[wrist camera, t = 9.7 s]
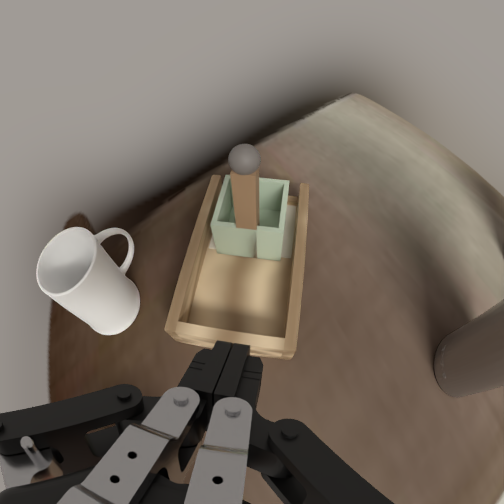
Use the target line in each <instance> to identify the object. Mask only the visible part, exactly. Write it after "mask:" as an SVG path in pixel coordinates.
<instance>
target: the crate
mask: <svg viewBox="0 0 504 504" xmlns="http://www.w3.org/2000/svg"><path fill="white" fill-rule="evenodd" d="M228 162H229V166H230V168H231V173H230V175H226V176H225V179H224V182H223V185H222V188H221V192H220V195H219V198H218V201H217V205H216V208H215V211H214V214H213V218H212V221H211V225H210V226H211V230H212V234H213V238H214V242H215V247H216V251H217V253H219V254H227V255H235V256H242V257H250V258H258V259H266V260H275V261H280V260H281V252H282V244H283V235H284V227H285V218H286V209H287V200H288V190H289V181H287V180H278V179H268V178H259V166H260V162H261V157H260V154H259V152H258V150H257V149H256V148H255V147H254V146H252V145H249V144H240V145H237V146H236V147H234V148H233V149H232V150H231V152H230V154H229V158H228Z"/></svg>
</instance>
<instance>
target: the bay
mask: <svg viewBox="0 0 504 504" xmlns="http://www.w3.org/2000/svg"><path fill="white" fill-rule="evenodd" d="M221 188H222V180H221V175H212V178H211V180H210V183H209V186H208V189H207V192H206V195H205V197H204V200H203V203H202V206H201V209H200V212H199V215H198V218H197V221H196V224H195V227H194V230H193V233H192V236H191V240H190V243H189V246H188V249H187V252H186V256H185V259H184V262H183V265H182V269H181V272H180V275H179V279H178V282H177V286H176V289H175V293H174V296H173V300H172V303H171V307H170V310H169V314H168V318H167V322H166V325H165V329H164V330H165V331H166V332H167V333H168V334H169V335H170V336H171V337H172V338H174V339H175V340H176V341H178V342H183V343H187V344H192V345H197V346H202V347H208V348H213V347H214V345H215V343H216V341H217V340H220V341H226V342H232V343H233V344H234V343H238V344H245V345H250V355H256V356H264V357H271V358H279V359H287V360H291V359H292V357H293V355H294V354H295V352H296V346H297V337H298V328H299V318H300V309H301V298H302V287H303V276H304V263H305V250H306V235H307V219H308V200H309V184H305V183H300V189H299V196H298V197H297V196H288V200H287V209H286V218H285V227H284V235H283V244H282V252H281V260H280V261H275V260H266V259H258V258H250V257H242V256H235V255H227V254H219V253H217V251H216V247H215V242H214V238H213V234H212V230H211V226H210V225H211V221H212V218H213V214H214V211H215V208H216V205H217V201H218V198H219V195H220V192H221Z"/></svg>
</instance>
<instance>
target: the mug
mask: <svg viewBox="0 0 504 504" xmlns="http://www.w3.org/2000/svg"><path fill="white" fill-rule="evenodd" d="M115 234H122V235H125V236H126V237H127V239H128V243H129V250H128V254H127V257H126V259H125V261H124V263H123V264H122V265H121V266H120V267H118V266H117V265H116V264H115V262H114V261H113V260H112V259H111V257H110V256H109V255H108V254H107V252H106V251H105V250H104V249H103V247H102V246H101V245H100V244H101V243H102V241H103V240H105V239H106V238H107V237H109V236H111V235H115ZM133 255H134V243H133V239H132V237H131V236H130V235H129V233H128V232H126V231H125V230H123V229H120V228H109V229H106V230H103V231H101V232H100V233H98V234H96V235H93V234H92V233H91V232H90V231H89V230H87V229H85V228H82V227H72V228H68V229H66V230H64V231H62V232H60V233H58V234H57V235H56V236H54V237H53V238H52V239H51V240H50V241H49V243H48V244H47V245H46V246H45V248H44V249H43V251H42V253H41V255H40V257H39V260H38V264H37V270H36V276H37V282H38V284H39V287H40V288H41V290H42V291H43V292H44V293H46V294H47V295H48V296H49V297H51V298H52V299H53V300H55V301H56V302H57V303H59V304H60V305H62V306H63V307H64V308H66V309H67V310H69V311H70V312H71V313H73V314H74V315H76V316H77V317H79V318H80V319H81V320H83V321H84V322H86V323H87V324H89V325H90V326H91V327H92V328H93V329H94V330H95V331H96V332H98V333H100V334H103V335H115V334H118V333H120V332H122V331H124V330H125V329H127V328H128V327H129V326H130V325H131V324H132V323H133V321H134V320H135V318H136V316H137V314H138V311H139V307H140V295H139V291H138V289H137V287H136V285H135V284H134V283H133V282H132V281H131V280H130V279H129V278H127V277H126V276H125V273H126V271H127V270H128V268H129V266H130V264H131V262H132V259H133Z"/></svg>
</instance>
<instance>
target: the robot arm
mask: <svg viewBox="0 0 504 504" xmlns="http://www.w3.org/2000/svg"><path fill="white" fill-rule="evenodd" d="M434 370H435V376H436V379H437V382H438V384H439V386H440V387H441V389H442V390H443V391H444V392H445V393H446V394H448V395H450V396H452V397H463V396H468V395H472V394H476V393H480V392H484V391H488V390H491V389H495V388H498V387H502V386H504V299H503V300H502V301H500V302H499V303H498V304H496V305H495V306H493V307H492V308H490V309H489V310H487V311H486V312H484V313H483V314H481V315H480V316H478V317H477V318H475V319H474V320H472V321H470V322H469V323H467V324H465V325H464V326H462V327H460V328H459V329H457V330H456V331H454V332H452V333H450V334H449V335H447V336H446V337H445V338H444V339H443V340H442V341H441V343H440V344H439V346H438V348H437V351H436V354H435V360H434ZM262 371H263V364H262V361H261V359H260V358H259V357H252V356H250V345H245V344H238V343H234V344H233V343H232V342H226V341H220V340H217V341H216V343H215V345H214V347H213V349H212V350H209V349H203V350H201V351H200V352H198V353H197V354H196V355H195V357H194V359H193V360H192V362H191V364H190V365H189V368H188V369H187V371H186V372H185V374H184V376H183V378H182V379H181V381H180V383H179V385H178V386H177V387H175V388H171V389H169V390H167V391H166V392H165V393H164V394H163V396H161V397H147V396H142V393H141V391H140V390H139V389H138V388H137V387H135V386H133V385H129V384H121V385H117V386H113V387H110V388H106V389H103V390H100V391H96V392H92V393H89V394H85V395H81V396H78V397H74V398H70V399H66V400H62V401H58V402H54V403H50V404H45V405H41V406H36V407H32V408H27V409H22V410H17V411H12V412H6V413H1V414H0V465H1V470H2V475H3V479H4V483H5V487H6V490H4V491H2V492H1V493H0V504H250V503H248V502H246V501H244V500H242V499H243V491H244V483H245V474H246V466H247V467H250V468H252V469H254V470H257V471H259V472H261V475H262V477H263V479H264V480H265V481H266V482H267V484H268V485H269V486H270V487H271V489H272V490H273V491H274V492H275V493H276V495H277V496H278V497H279V498H280V499H281V501H282V502H283V503H284V504H394V503H393V502H391V501H390V500H389V499H388V498H386V497H385V496H384V495H383V494H381V493H380V492H379V491H378V490H377V489H375V488H374V487H373V486H372V485H371V484H369V483H368V482H367V481H366V480H365V479H364V478H362V477H361V476H360V475H359V474H358V473H357V472H355V471H354V470H353V469H352V468H351V467H350V466H349V465H348V464H346V463H345V462H344V461H343V460H342V459H341V458H340V457H339V456H338V455H336V454H335V453H334V452H333V451H332V450H331V449H330V448H329V447H328V446H327V445H326V444H325V443H324V442H323V441H321V440H320V439H319V438H318V437H317V436H316V435H315V434H314V433H313V432H312V431H311V430H310V429H309V428H308V427H307V426H306V425H305V424H304V423H302V422H300V421H298V420H294V419H282V420H278V421H276V422H275V423H274V422H271V421H269V420H266V419H264V418H263V417H261V416H260V415H259V414H258V412H257V411H256V407H257V402H258V397H259V392H260V386H261V378H262ZM113 423H115V424H116V426H113V427H110V428H107V429H104V430H100V431H97V432H94V433H90V434H86V433H87V432H88V431H91V430H94V429H97V428H101V427H104V426H107V425H110V424H113ZM205 431H207V434H206V438H205V441H204V445H201V444H202V438H203V435H204V433H205ZM197 453H198V455H197ZM196 455H197V458H196V462H195V465H194V469H193V473H192V476H191V480H190V483H189V484H184V479H185V476H186V474H187V472H188V470H189V469H190V467H191V465H192V463H193V461H194V459H195V457H196Z"/></svg>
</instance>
